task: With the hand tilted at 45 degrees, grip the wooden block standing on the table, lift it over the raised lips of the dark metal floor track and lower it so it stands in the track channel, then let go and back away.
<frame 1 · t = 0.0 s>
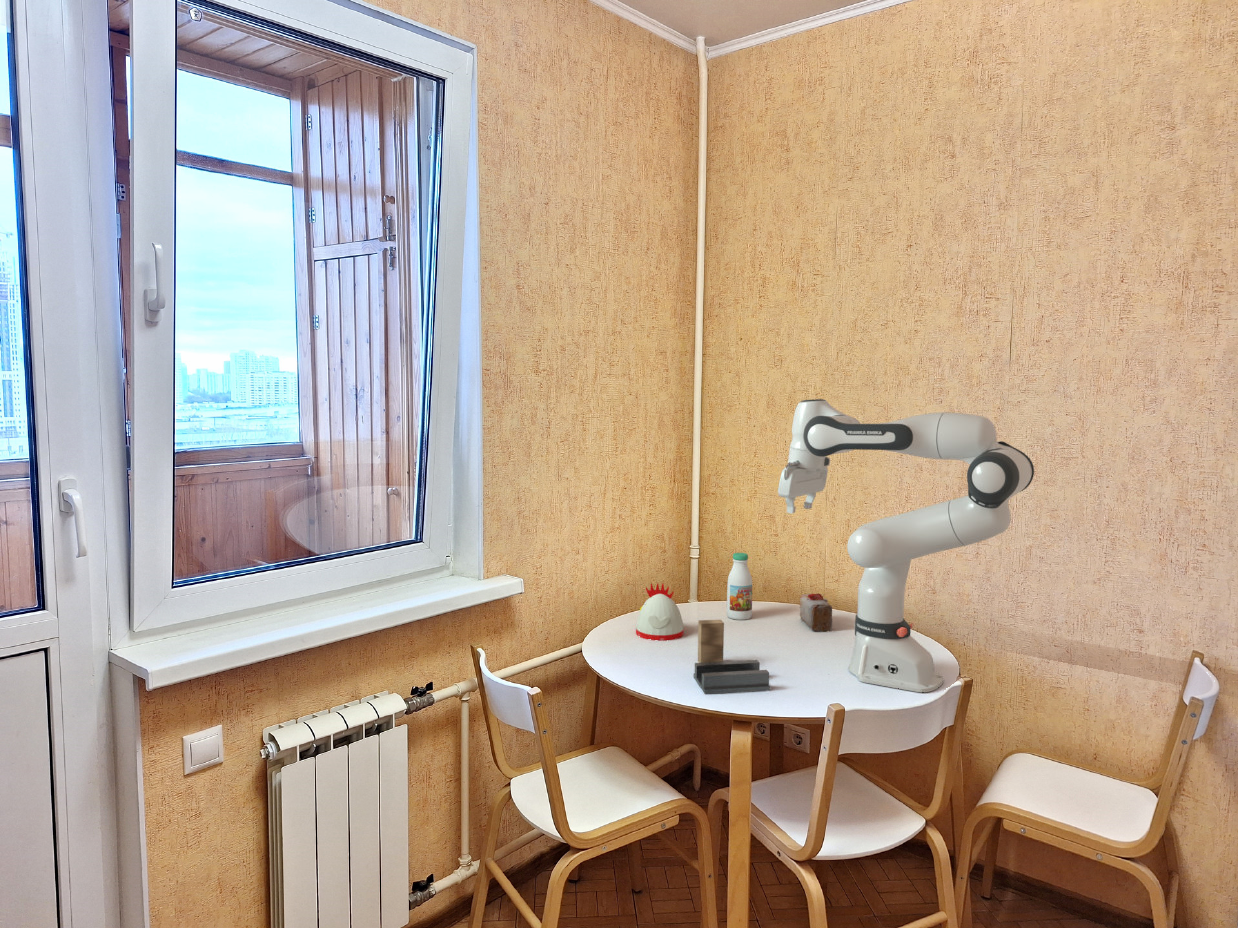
hand: (799, 510, 214), 39 cm above the table, tool pointing down, fingers open, 8 cm apart
kitchen timer: (659, 633, 234), on the table
wooden block: (710, 662, 210), on the table
milk bottle: (739, 617, 251), on the table
door track: (731, 683, 195), on the table
food item: (815, 626, 243), on the table
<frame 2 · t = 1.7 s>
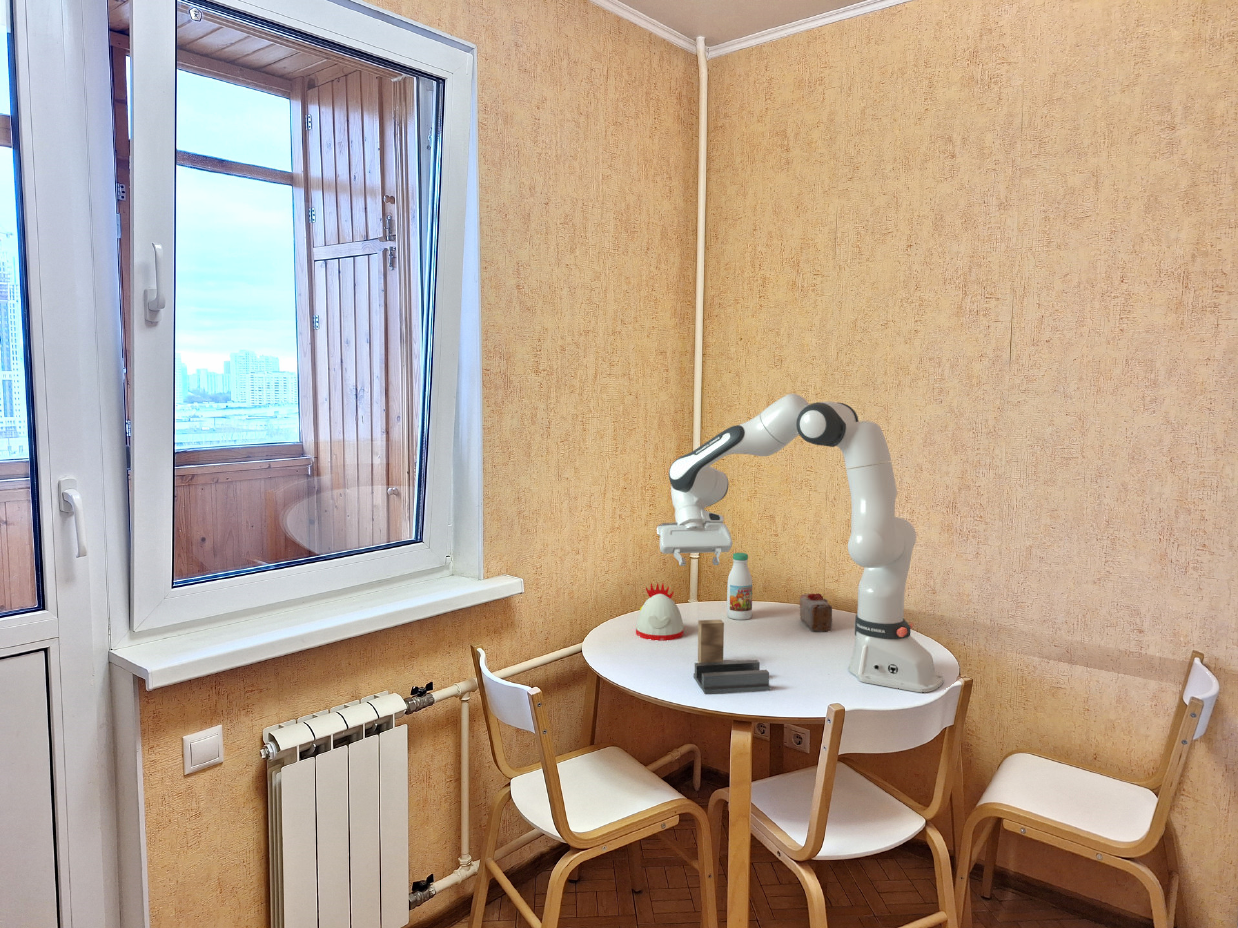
hand: (699, 564, 220), 23 cm above the table, tool tilted 45°, fingers open, 8 cm apart
nothing on the table moved.
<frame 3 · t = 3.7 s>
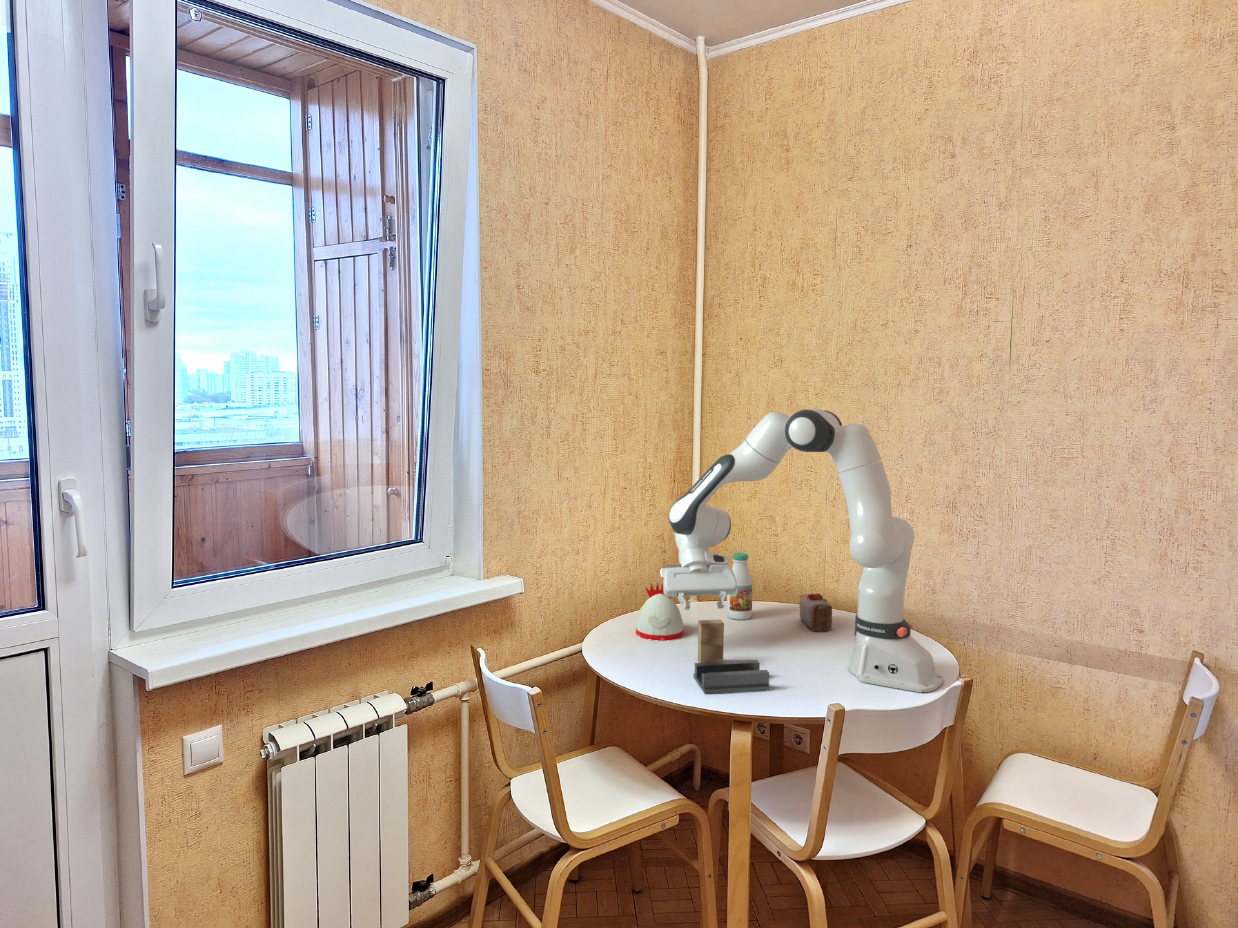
hand: (704, 608, 216), 12 cm above the table, tool tilted 45°, fingers open, 8 cm apart
nothing on the table moved.
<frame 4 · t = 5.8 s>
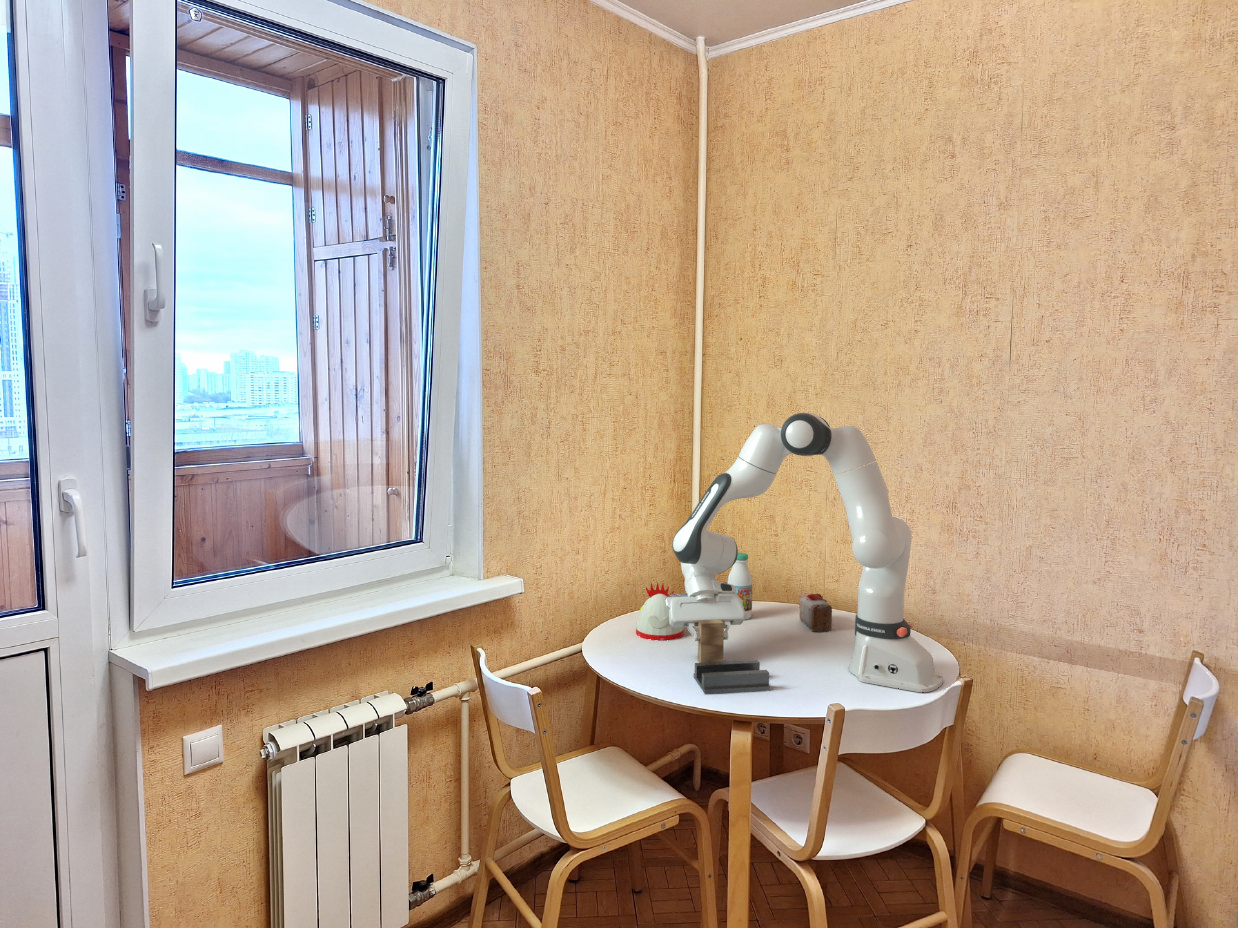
hand: (711, 639, 209), 6 cm above the table, tool tilted 45°, fingers closed on wooden block, 6 cm apart
wooden block: (710, 662, 210), on the table, touching gripper
everything else where it was.
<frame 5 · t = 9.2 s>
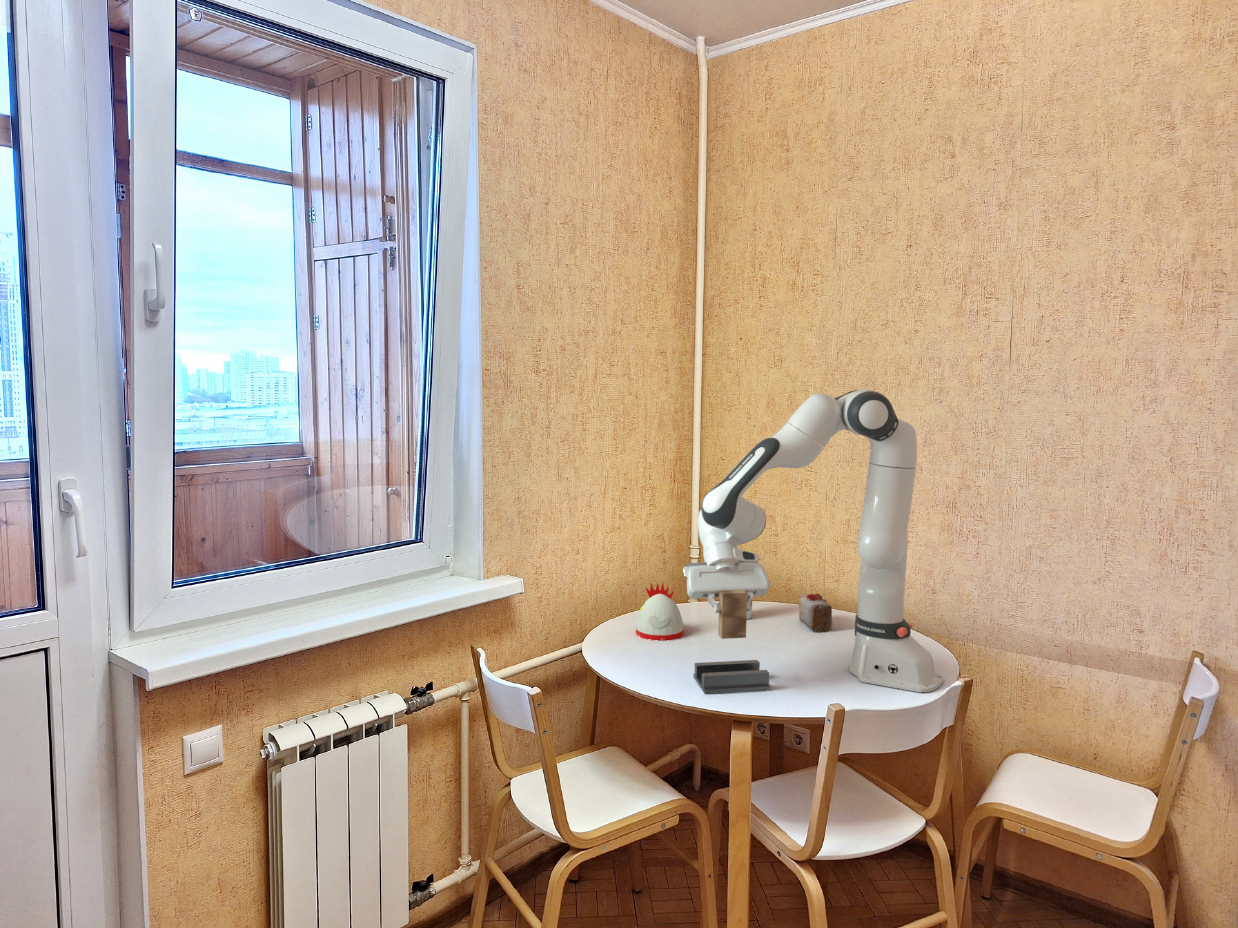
hand: (733, 611, 193), 18 cm above the table, tool tilted 45°, fingers closed on wooden block, 6 cm apart
wooden block: (732, 636, 194), point 12 cm above the table, touching gripper
everything else where it was.
when the fingers open (9 cm above the table, at t = 12.3 s): wooden block drops 1 cm, resting on door track.
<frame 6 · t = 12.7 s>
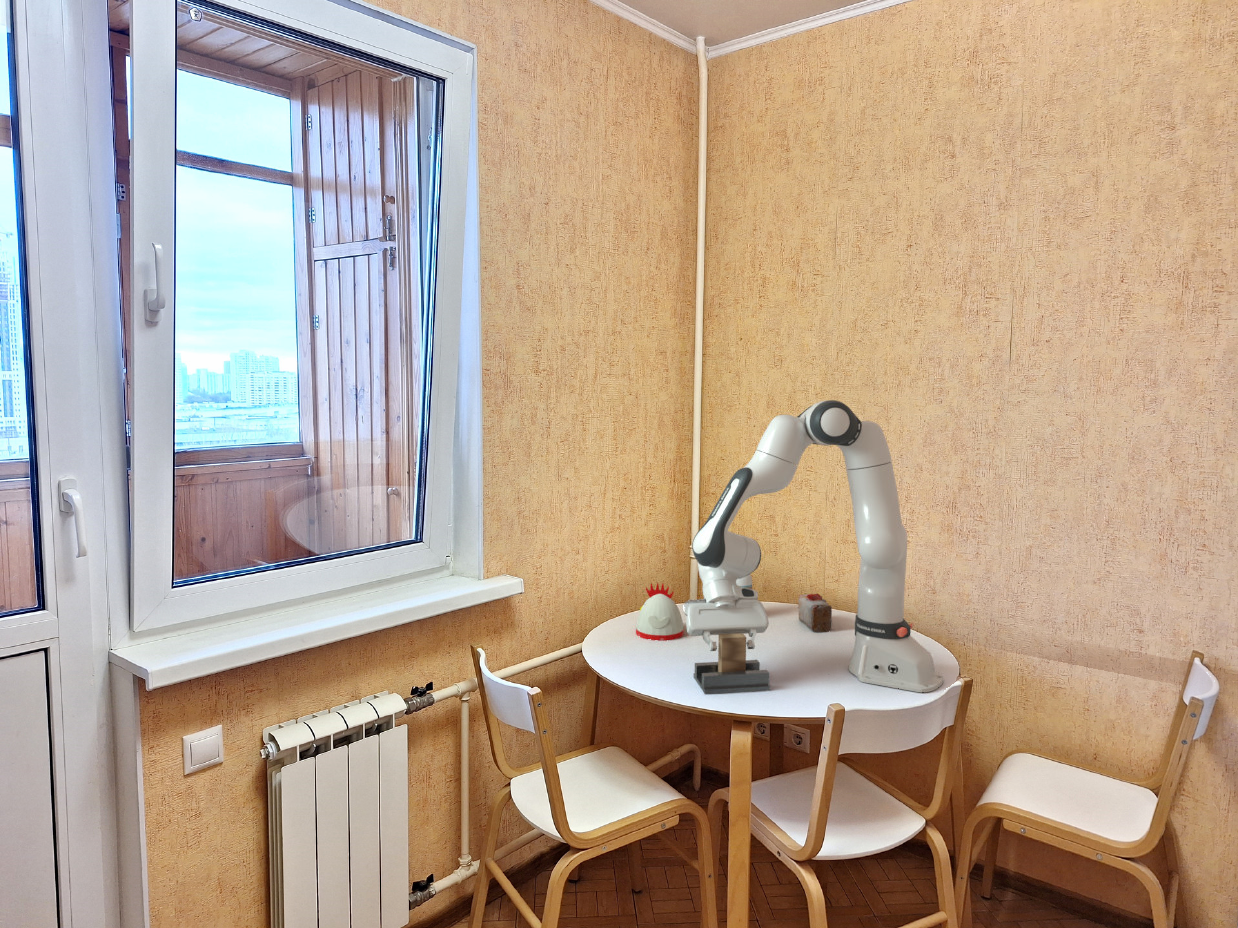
hand: (732, 649, 194), 9 cm above the table, tool tilted 45°, fingers open, 8 cm apart
wooden block: (731, 679, 195), point 1 cm above the table, touching door track
everything else where it was.
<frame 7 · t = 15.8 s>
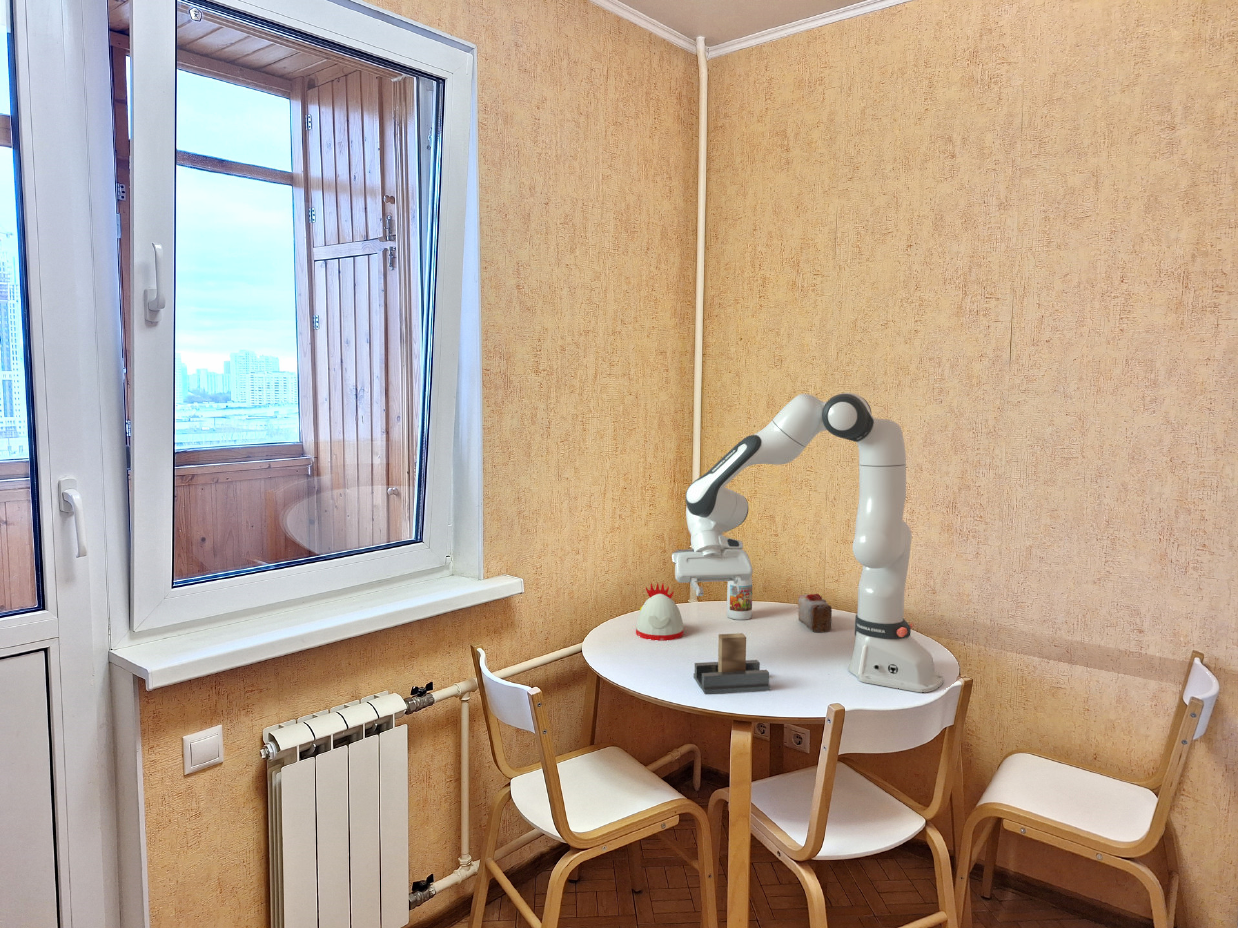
hand: (718, 594, 206), 19 cm above the table, tool tilted 45°, fingers open, 8 cm apart
nothing on the table moved.
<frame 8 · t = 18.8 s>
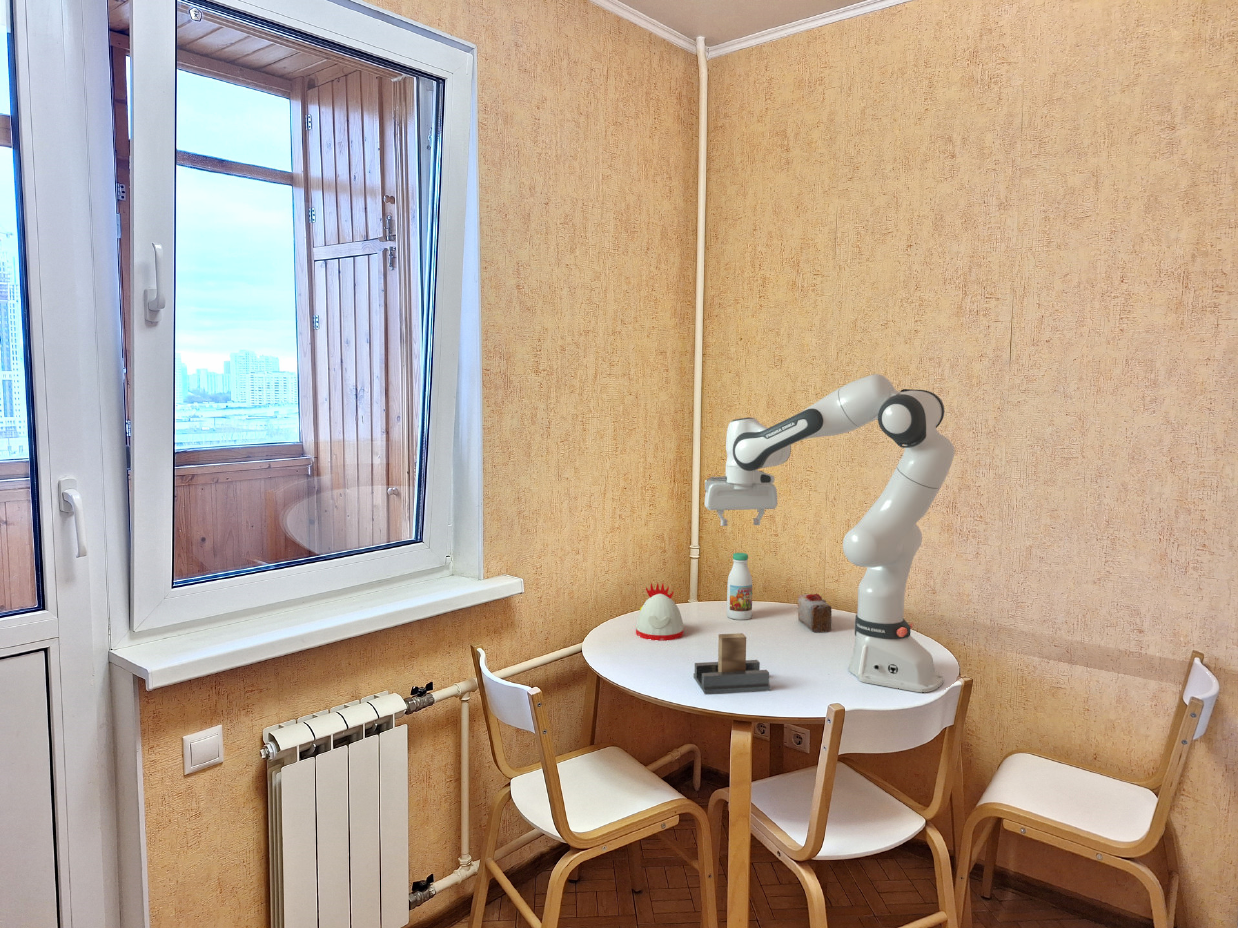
hand: (740, 525, 224), 33 cm above the table, tool pointing down, fingers open, 8 cm apart
nothing on the table moved.
at the end: wooden block 0.1 cm off-centre on the door track, point 1.0 cm above the door track's base; wooden block tilted 0°; the gripper is holding nothing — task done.
